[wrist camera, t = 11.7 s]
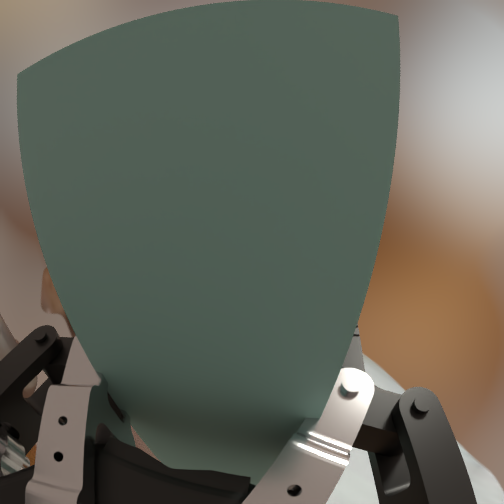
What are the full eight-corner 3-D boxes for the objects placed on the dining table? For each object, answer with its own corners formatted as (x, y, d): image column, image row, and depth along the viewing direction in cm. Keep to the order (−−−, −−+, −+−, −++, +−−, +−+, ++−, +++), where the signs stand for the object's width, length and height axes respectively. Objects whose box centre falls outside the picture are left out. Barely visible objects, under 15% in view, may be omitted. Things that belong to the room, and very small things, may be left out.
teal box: (276, 499, 10) (397, 15, 2) (178, 480, 11) (17, 74, 3) (287, 422, 15) (337, 74, 7) (202, 409, 16) (158, 77, 7)
